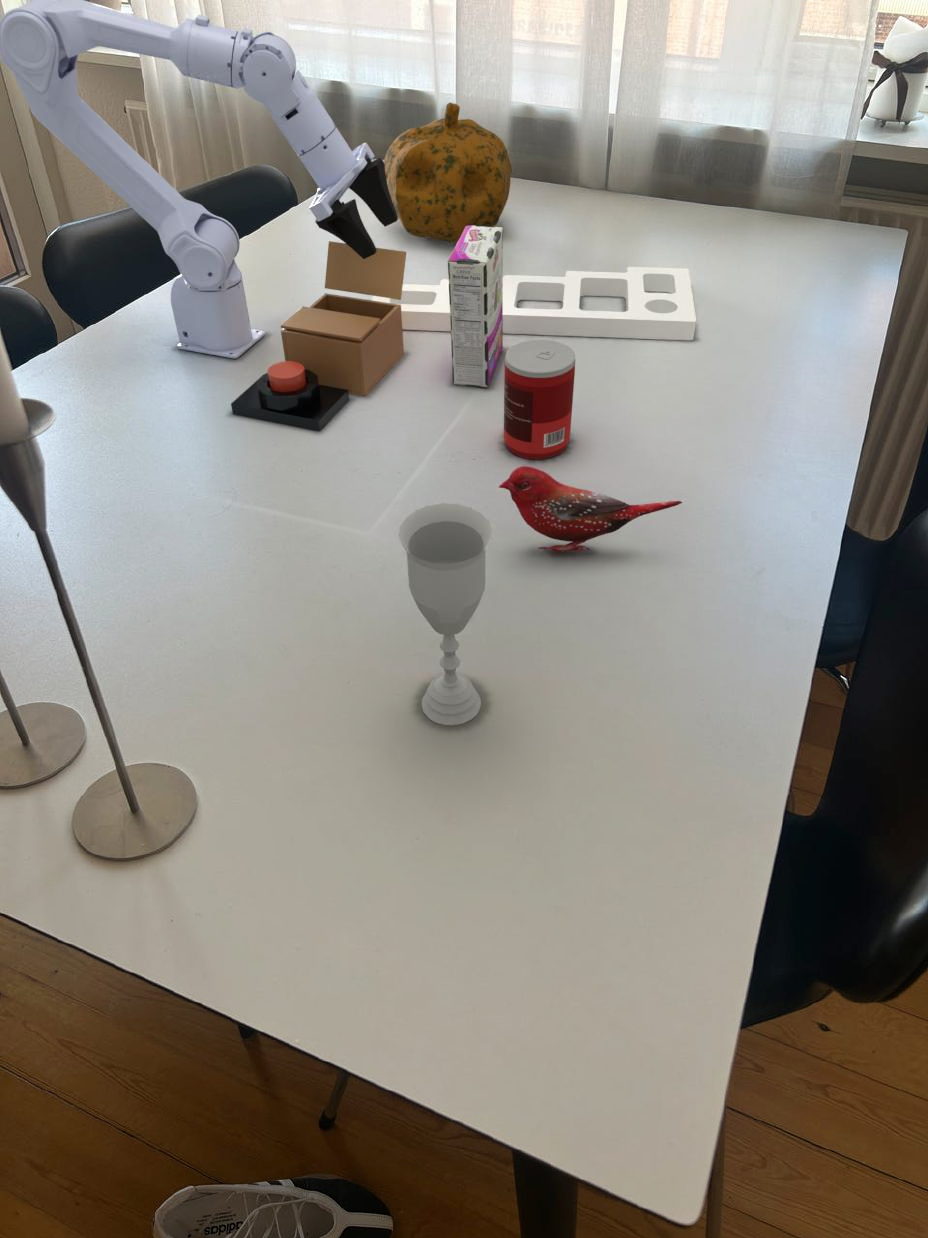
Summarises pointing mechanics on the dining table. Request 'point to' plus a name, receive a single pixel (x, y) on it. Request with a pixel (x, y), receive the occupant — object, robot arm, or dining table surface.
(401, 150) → the decorative pumpkin
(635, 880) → the dining table surface
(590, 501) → the decorative bird figurine
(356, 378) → the carton
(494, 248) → the candy bar box
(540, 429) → the canned food
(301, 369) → the button
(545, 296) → the holder
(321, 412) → the block
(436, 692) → the chalice
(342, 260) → the flap
